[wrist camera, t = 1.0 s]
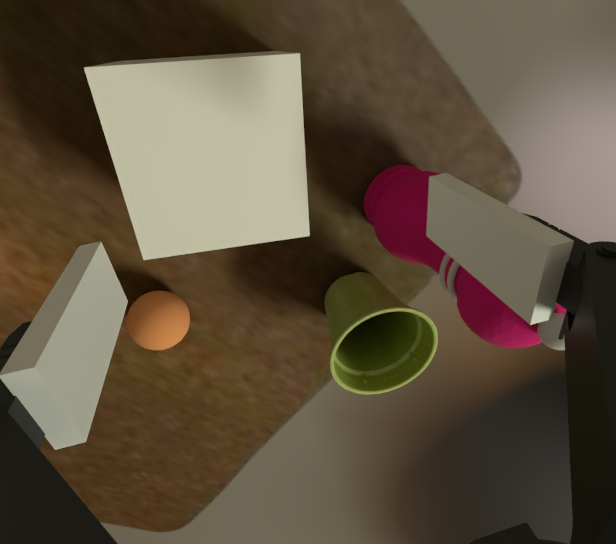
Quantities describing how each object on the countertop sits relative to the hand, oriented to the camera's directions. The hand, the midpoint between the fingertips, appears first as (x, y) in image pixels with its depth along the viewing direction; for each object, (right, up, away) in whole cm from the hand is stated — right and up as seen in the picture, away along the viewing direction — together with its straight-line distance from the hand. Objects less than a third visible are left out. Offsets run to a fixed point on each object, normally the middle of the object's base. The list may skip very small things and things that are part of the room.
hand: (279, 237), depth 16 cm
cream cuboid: (-6, +9, +13) cm, 17 cm away
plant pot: (+6, -4, +24) cm, 25 cm away
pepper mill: (+9, +5, +19) cm, 22 cm away
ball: (-11, -5, +17) cm, 21 cm away
